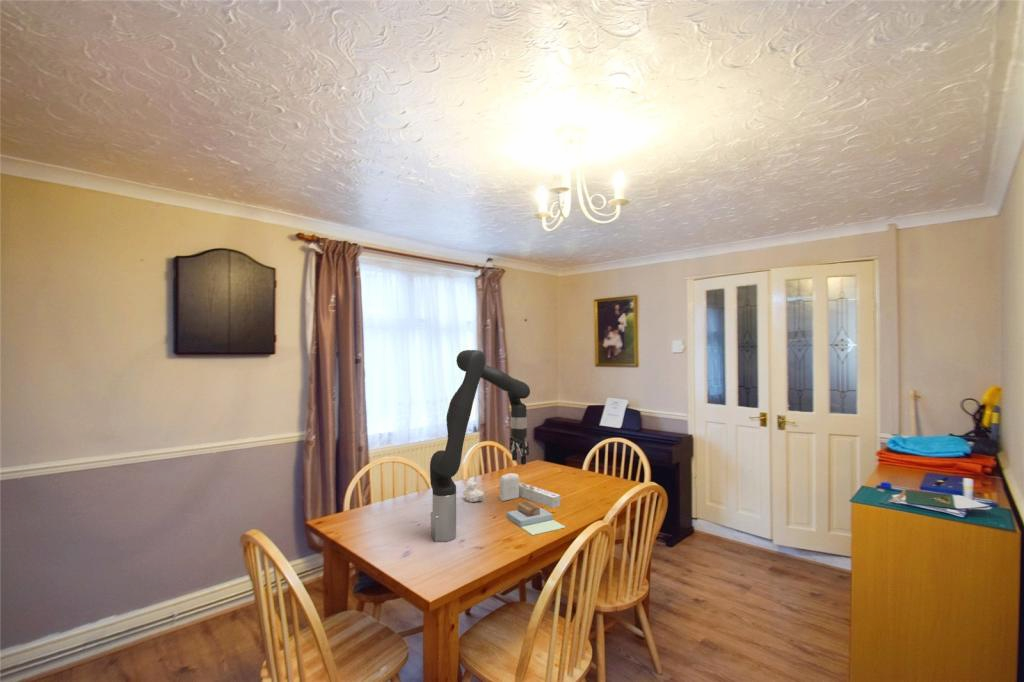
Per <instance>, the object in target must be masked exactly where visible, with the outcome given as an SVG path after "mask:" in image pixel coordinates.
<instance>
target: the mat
mask: <svg viewBox="0 0 1024 682" xmlns="http://www.w3.org/2000/svg"><path fill="white" fill-rule="evenodd" d="M520 528H521V529H523V531H525V532H527V533H528V534H529V535H531V536H536V535H541V534H544V533H549V532H553V531H558V530H563V529H566V526H565V525H563V524H562V523H560V522H558V521H556V520H554V519H553V520H551V521H546V522H542V523H537V524H532V525H528V526H523V527H520ZM562 528H563V529H562Z"/></svg>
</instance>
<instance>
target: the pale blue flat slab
mask: <svg viewBox="0 0 1024 682" xmlns="http://www.w3.org/2000/svg"><path fill="white" fill-rule="evenodd" d="M537 506H538V507H540V506H539V505H537ZM553 517H554V514H553V513H551V512H549V511H547V510H546V509H544V508H542V507H540V515H535V516H531V517H527V516H525V515H524V514H522V513H521V512H519V511H517V509H516V510H511V511H507V512H506V518H507V519H508V520H510V521H511V522H512V523H514V524H515V525H516V526H518V527H519V528H521V527H523V526H528V525H532V524H537V523H542V522H546V521H551V520H554V519H553Z"/></svg>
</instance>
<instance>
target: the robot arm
mask: <svg viewBox="0 0 1024 682" xmlns="http://www.w3.org/2000/svg"><path fill="white" fill-rule="evenodd" d="M456 365H457V367H458V368H459V369H460V370H461V371H463V372H465V374H464V378H463V379H462V383H461V385H460V386H459V388H458V389H457V390H456V391H455V393H454V394H453V396H452V397H451V399H450V402H449V404H448V409H447V412H446V429H447V441H446V446H445V449H444V450H443V449H442V450H437V451H435V452H434V453H433V454H432V455H431V458H430V462H429V479H430V486H431V490H432V511H431V512H430V537H431V539H433V541H434V542H436V543H438V542H450V541H452V540H455V539H456V538H457V485H456V483H455V482H454V480H453V477H455V475H456V474H457V473H458V472H459V470H460V466H461V462H462V455H463V449H464V447H463V446H464V442H465V439H466V435H467V434H466V433H467V430H468V429H467V428H468V426H469V425H468V424H469V421H470V418H471V414H472V410H473V404H474V400H475V398H476V394H477V390H478V386H479V384H480V380H481V379H483V380H484V381H487V382H488V383H490V384H492V385H494V386H495V387H496V388H498V389H501V390H502V391H504V392H507V396H508V401H509V403H510V405H509V406H510V408H511V410H510V417H511V419H510V437H509V448H508V449H509V451H510V452H511V460H512V461H513V462H514V461H518V452H519V454H520V465H522V466H523V465H526V464H527V458H526V457H527V456H529V455H530V447H529V445H530V444H529V441H525V439H526V438H527V437H528V420H527V412H528V410H527V405H526V404H525V403H523V402H522V401H521V399H523V400H524V399H527V398H528V397H529V396H530V395H531V388H530V386H529V385H528V384H527V383H526V382H523V381H521V380H519V379H517V378H514V377H512V376H511V375H509V374H508V373H506V372H504V371H502V370H501V369H498V368H496V367H493V366H490V365H487V364H486V355H485V354H484V352H483V351H482V350H479V349H478V350H477V349H465V350H462V351H460V352H459V353H458V354H457V356H456Z"/></svg>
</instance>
